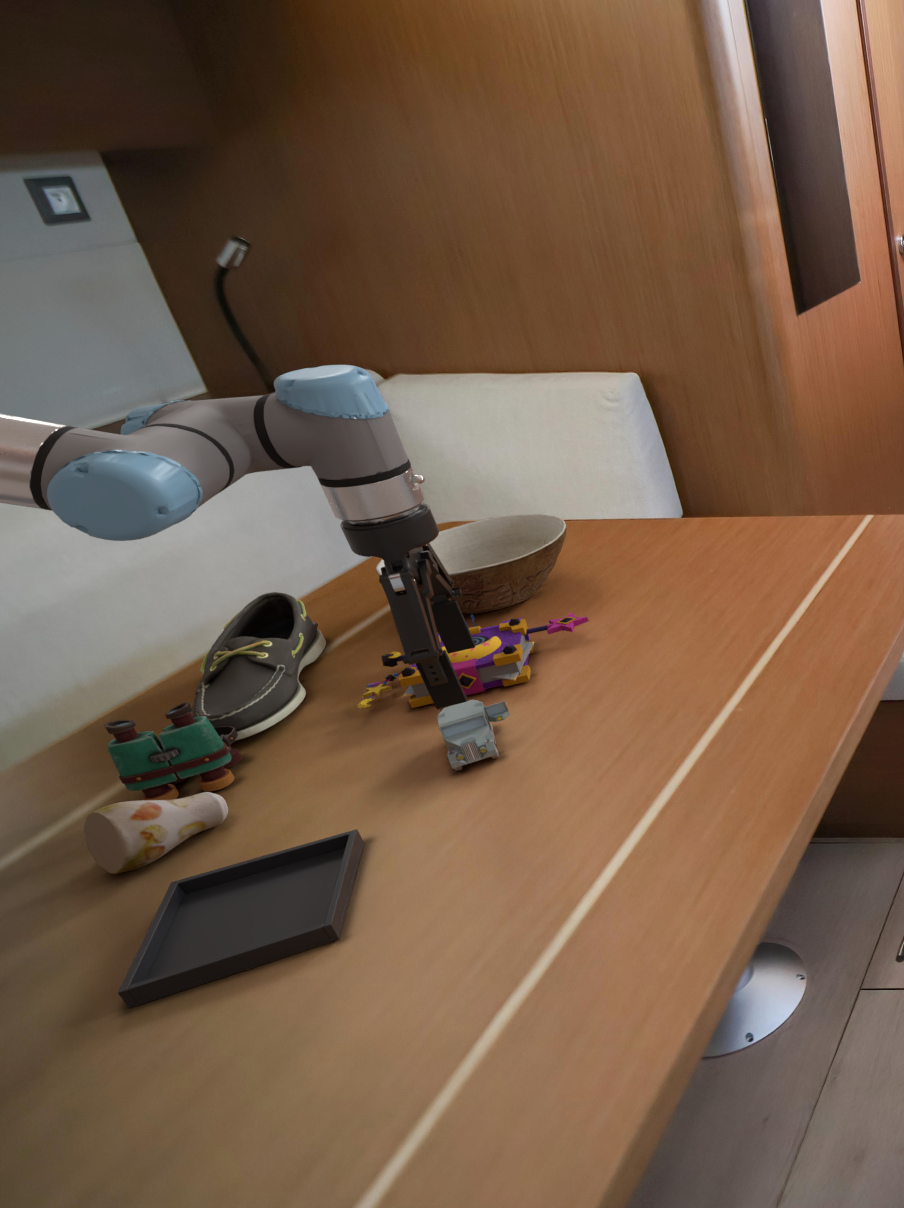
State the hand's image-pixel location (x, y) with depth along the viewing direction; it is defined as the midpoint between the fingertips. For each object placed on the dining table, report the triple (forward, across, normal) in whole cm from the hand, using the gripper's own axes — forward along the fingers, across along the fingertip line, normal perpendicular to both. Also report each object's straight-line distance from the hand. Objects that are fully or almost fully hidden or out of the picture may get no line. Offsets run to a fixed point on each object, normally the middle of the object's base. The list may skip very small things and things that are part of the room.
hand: (457, 675), depth 112 cm
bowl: (+10, +45, +1) cm, 46 cm away
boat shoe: (+10, +30, +25) cm, 40 cm away
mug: (+10, -3, +27) cm, 29 cm away
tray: (+10, -21, +17) cm, 29 cm away
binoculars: (+10, +10, +28) cm, 32 cm away
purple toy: (+10, +20, +1) cm, 23 cm away
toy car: (+10, 0, 0) cm, 11 cm away
